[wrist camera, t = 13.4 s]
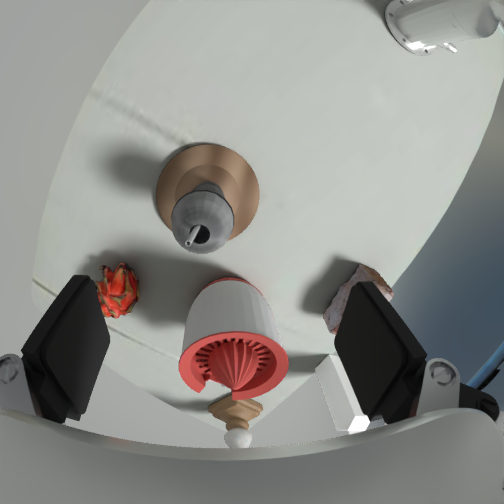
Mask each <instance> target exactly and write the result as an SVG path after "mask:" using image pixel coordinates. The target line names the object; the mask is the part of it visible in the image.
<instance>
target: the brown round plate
mask: <svg viewBox="0 0 504 504" xmlns="http://www.w3.org/2000/svg"><path fill="white" fill-rule="evenodd" d="M205 181H211V182H214V183H216V184H218V185H219V186H220V188H221V189H222V191H223V194H224V197H225V199H226V200H227V201H228V203H229V204H230V205H231V207H232V210H233V213H234V228H233V230H232V233H231V235H230V237H229V239H228V240H231V239H233V238H234V237H236V236H238V235H239V234H240V233H242V232H243V231H244V230H245V229H246V228H247V227H248V225H249V224H250V223H251V221H252V220H253V218H254V216H255V214H256V211H257V208H258V204H259V185H258V181H257V178H256V176H255V173H254V171H253V170H252V168H251V167H250V165H249V164H248V163H247V161H246V160H245V159H244V158H243V157H242V156H240V155H239V154H237V153H236V152H234V151H232V150H231V149H228V148H226V147H223V146H218V145H210V144H208V145H198V146H194V147H191V148H188V149H186V150H184V151H182V152H181V153H179V154H178V155H176V156H175V157H174V158H173V159H171V160H170V162H169V163H168V164H167V165H166V167H165V168H164V169H163V171H162V173H161V175H160V178H159V181H158V184H157V189H156V200H157V206H158V210H159V213H160V215H161V217H162V219H163V221H164V222H165V224H166V225H167V226H168V227H169V228H170V230H171V231H172V225H171V214H172V211H173V207H174V206H175V204H176V203H177V201H178V200H179V199H180V198H181V197H182V196H184V195H185V194H186V193H189V192H191V191H192V190H193V189H194V188H195V187H196V186H197V185H199V184H200V183H202V182H205ZM228 240H227V241H228Z"/></svg>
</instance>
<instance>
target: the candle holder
mask: <svg viewBox="0 0 504 504" xmlns="http://www.w3.org/2000/svg"><path fill="white" fill-rule="evenodd" d="M262 410H263V407H262V404H260V403H258V402H256V401H254V400H252V399H250V398H249V399H244V400H232V394H231V395H229V396H227V397H225V398H223V399H221V400H219V401H218V402H216V403H214V404H212V405H210V406H209V412H210V413H212V414H213V416H214V417H215V418H217V419H220V420H222V421H224V422H225V423H227V424H226V429H227V430H228V431H227V432H226V434H225V435H224V440H225V442H226V444H227V445H228V446H229V447H230V448H248V447H249V445H250V444H251V442H252V439H253V436H252V434H251V432H250V431H248V428H249V424H248V421H249V420H251V419H253V418H255V417H257V416H259V414H260V412H261V411H262Z"/></svg>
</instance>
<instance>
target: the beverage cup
mask: <svg viewBox="0 0 504 504" xmlns="http://www.w3.org/2000/svg"><path fill="white" fill-rule="evenodd" d="M171 225H172V232H173V234H174V237H175V239H176V240H177V242H178V243H179V244H180V245H181V246H182V247H183V248H185V249H186V250H188V251H190V252H193V253H197V254H207V253H210V252H214V251H216V250H217V249H219V248H220V247H222V246H223V245H224V244H225V243H226V241H227V240H228V239H229V237H230V235H231V233H232V230H233V228H234V213H233V210H232V207H231V205H230V204H229V203H228V201H227V200H226V199H225V197H224V194H223V191H222V189H221V188H220V186H219V185H218V184H216V183H214V182H211V181H205V182H202V183H200V184H199V185H197V186H196V187H195V188H194V189H193V190H192V191H191V192H189V193H186V194H185V195H184V196H182V197H181V198H180V199H179V200H178V201H177V203H176V204H175V206H174V207H173V211H172V214H171Z"/></svg>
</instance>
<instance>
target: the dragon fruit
mask: <svg viewBox="0 0 504 504" xmlns="http://www.w3.org/2000/svg"><path fill="white" fill-rule="evenodd" d="M99 270H104V271H103V276H104V277H105V278H104V279H103V282H101V281H96V282H95V284H96V285H95V286H96V290H97V288H98V290H99V292H97V294H98V298H99V301H100V305H101V309H102V312H103V315H104V317H110V316H111V317H113V318H119V316H120V315H122V314H123V315H126V314H127V313H130V312H131V311H132V308H133V306H134V305H135V303H136V302H137V301H139V288H138V279H137V280H136V277H135V275H134V272H133V269H132V268H130V267H128V264H127V263H126V262H125V263H119V265H118V266H117V267H116V270H115V272H114V273H113V272H112V271H111V269H110V267H107V266H105V265H103V266H101V267H100V268H99Z"/></svg>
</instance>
